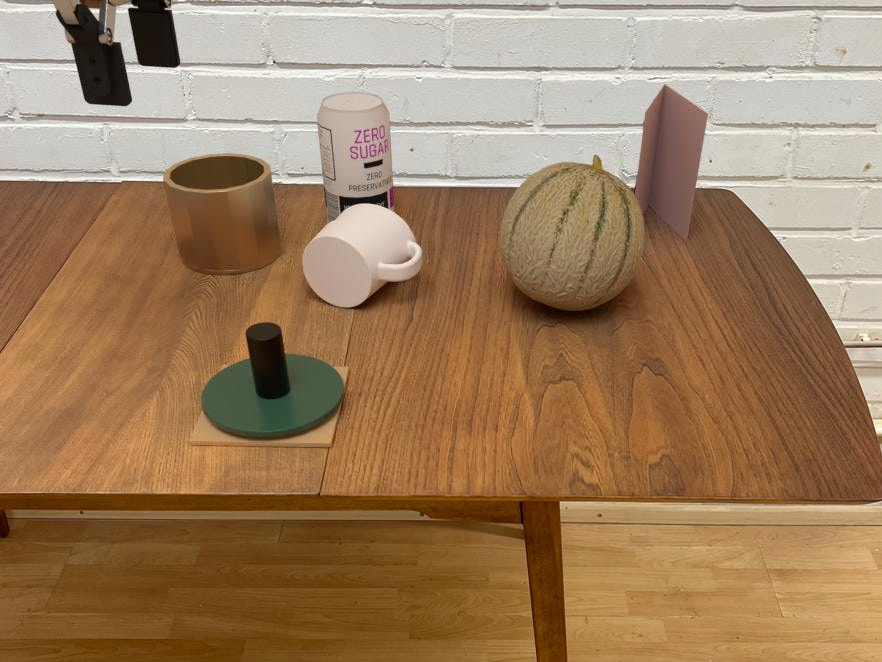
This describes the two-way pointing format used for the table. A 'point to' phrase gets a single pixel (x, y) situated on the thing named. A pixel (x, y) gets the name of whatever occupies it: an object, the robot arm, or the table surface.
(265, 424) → the tin lid
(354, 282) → the mug
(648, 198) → the greeting card
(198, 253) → the tin
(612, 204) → the cantaloupe
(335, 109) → the supplement can
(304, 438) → the cork mat
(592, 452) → the table surface
